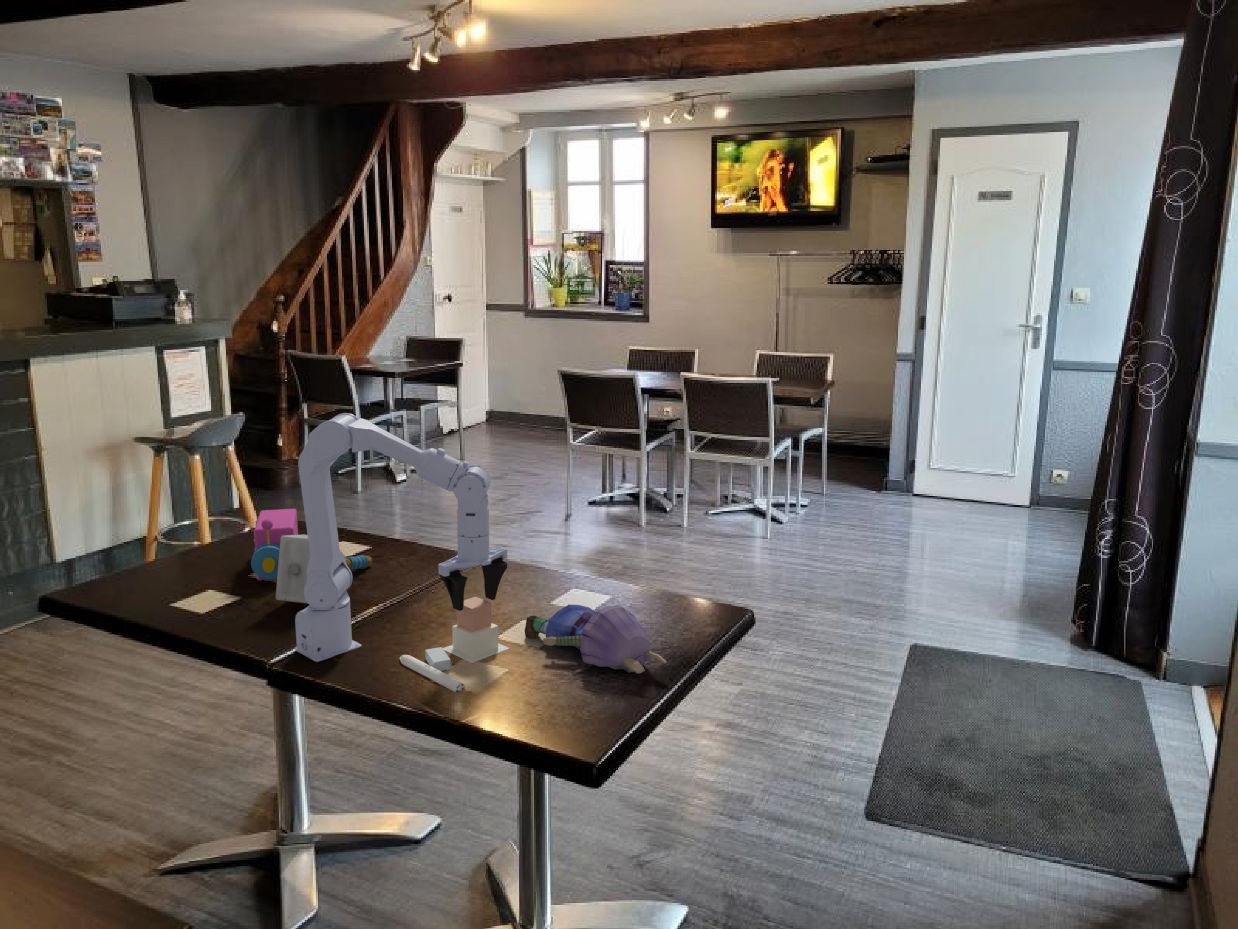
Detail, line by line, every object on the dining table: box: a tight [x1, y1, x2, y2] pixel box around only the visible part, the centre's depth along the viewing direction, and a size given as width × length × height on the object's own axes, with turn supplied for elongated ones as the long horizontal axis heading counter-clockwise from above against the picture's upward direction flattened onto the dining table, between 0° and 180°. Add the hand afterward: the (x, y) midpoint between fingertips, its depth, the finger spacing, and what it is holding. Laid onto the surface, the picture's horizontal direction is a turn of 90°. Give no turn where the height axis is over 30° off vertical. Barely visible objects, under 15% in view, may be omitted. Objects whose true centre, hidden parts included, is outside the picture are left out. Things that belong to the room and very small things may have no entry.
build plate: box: [442, 642, 511, 664], centre depth 171 cm, size 9×9×1 cm
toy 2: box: [524, 604, 667, 674], centre depth 168 cm, size 18×11×30 cm
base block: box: [451, 622, 499, 658], centre depth 170 cm, size 6×6×4 cm
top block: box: [456, 596, 492, 632], centre depth 170 cm, size 4×4×4 cm
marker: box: [399, 654, 466, 693], centre depth 160 cm, size 18×2×2 cm, turn 47°
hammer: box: [275, 534, 373, 604], centre depth 203 cm, size 8×13×30 cm
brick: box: [424, 646, 452, 672], centre depth 164 cm, size 6×3×2 cm, turn 26°
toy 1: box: [250, 508, 299, 582], centre depth 214 cm, size 28×9×15 cm, turn 17°
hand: (474, 603), depth 169 cm, fingers open, 7 cm apart
